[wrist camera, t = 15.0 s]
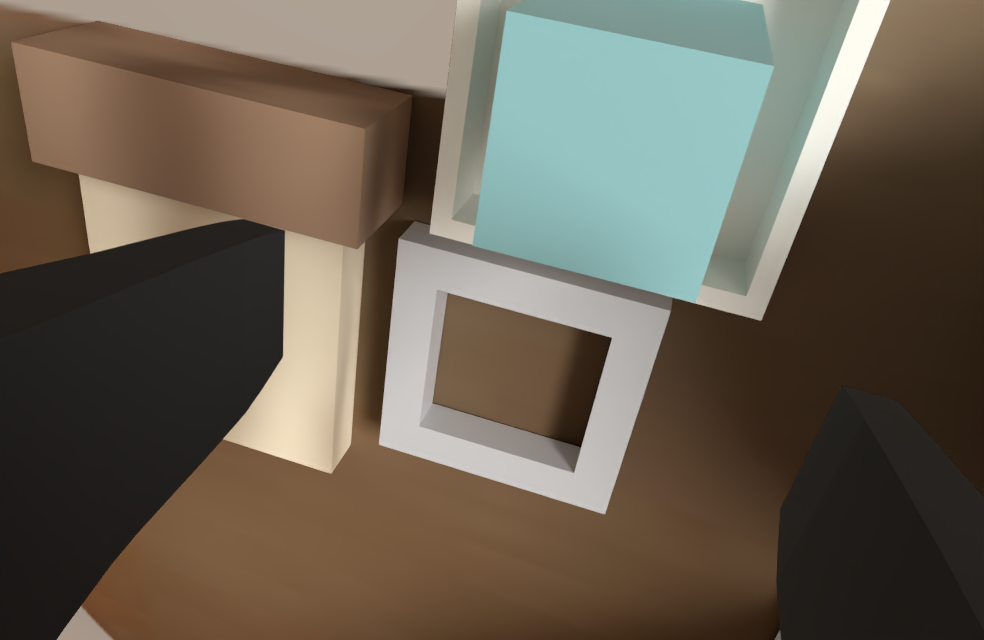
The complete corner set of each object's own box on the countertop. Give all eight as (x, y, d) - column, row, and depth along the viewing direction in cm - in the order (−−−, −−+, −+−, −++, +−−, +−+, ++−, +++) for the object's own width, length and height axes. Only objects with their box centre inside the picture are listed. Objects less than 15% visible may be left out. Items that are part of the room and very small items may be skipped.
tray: (895, -75, 15) (917, -67, 13) (758, 278, 19) (761, 320, 18) (504, -147, 16) (474, -149, 14) (456, 200, 21) (429, 233, 19)
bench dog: (412, 95, 19) (365, 129, 17) (402, 204, 21) (357, 249, 19) (98, 20, 21) (10, 41, 18) (110, 128, 22) (32, 161, 20)
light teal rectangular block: (707, 183, 18) (695, 302, 13) (542, 145, 19) (472, 245, 14) (762, 4, 16) (774, 65, 11) (575, -32, 17) (506, 10, 12)
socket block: (674, 289, 20) (670, 311, 19) (610, 487, 24) (604, 514, 23) (414, 221, 21) (398, 238, 20) (393, 421, 25) (379, 444, 24)
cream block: (374, 195, 22) (344, 222, 20) (356, 435, 27) (331, 473, 25) (122, 129, 23) (74, 150, 21) (149, 371, 28) (112, 403, 26)
